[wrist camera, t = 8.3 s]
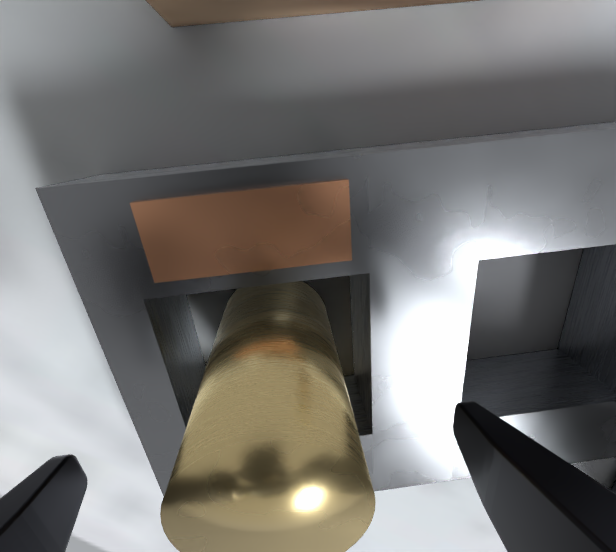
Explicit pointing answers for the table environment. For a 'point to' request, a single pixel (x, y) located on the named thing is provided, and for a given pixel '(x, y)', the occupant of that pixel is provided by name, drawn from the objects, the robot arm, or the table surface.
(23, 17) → the table surface
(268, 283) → the plate
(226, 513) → the brass peg
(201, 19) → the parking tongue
